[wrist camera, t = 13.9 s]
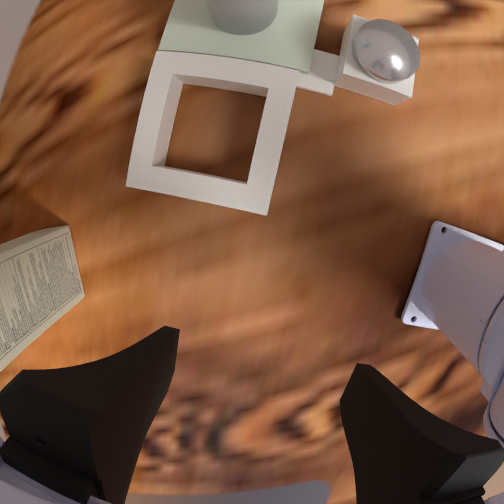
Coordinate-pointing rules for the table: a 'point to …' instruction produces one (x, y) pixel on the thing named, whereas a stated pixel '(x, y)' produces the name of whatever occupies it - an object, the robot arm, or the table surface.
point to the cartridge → (243, 15)
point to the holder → (271, 127)
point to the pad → (247, 46)
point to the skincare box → (35, 287)
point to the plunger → (385, 51)
